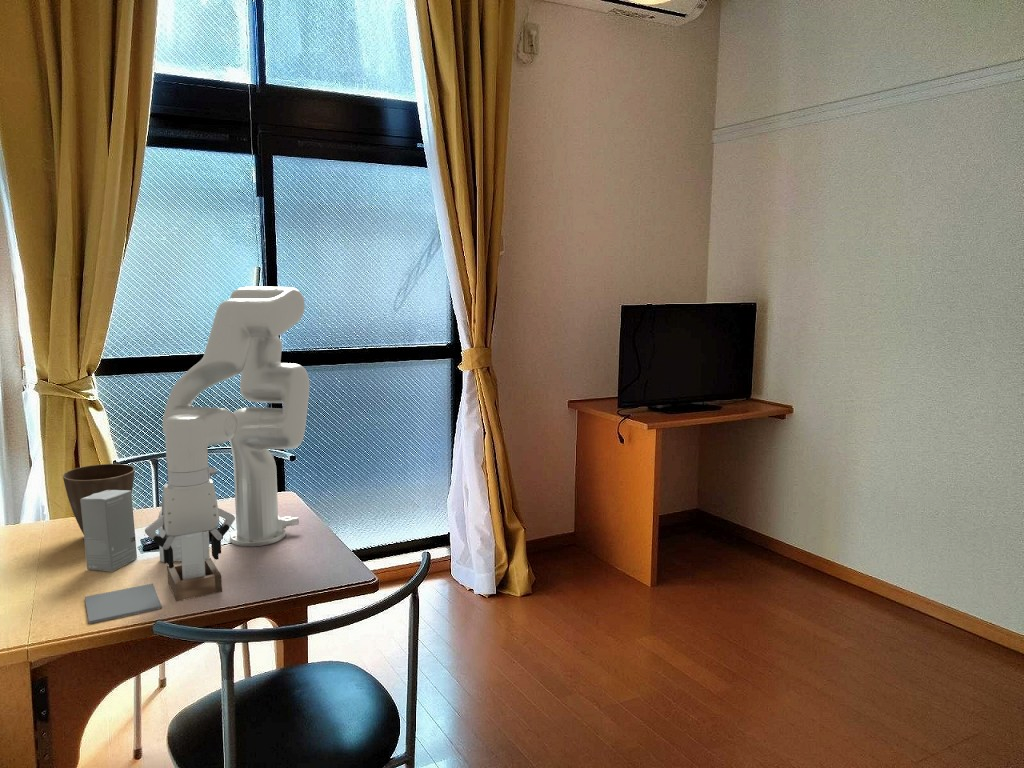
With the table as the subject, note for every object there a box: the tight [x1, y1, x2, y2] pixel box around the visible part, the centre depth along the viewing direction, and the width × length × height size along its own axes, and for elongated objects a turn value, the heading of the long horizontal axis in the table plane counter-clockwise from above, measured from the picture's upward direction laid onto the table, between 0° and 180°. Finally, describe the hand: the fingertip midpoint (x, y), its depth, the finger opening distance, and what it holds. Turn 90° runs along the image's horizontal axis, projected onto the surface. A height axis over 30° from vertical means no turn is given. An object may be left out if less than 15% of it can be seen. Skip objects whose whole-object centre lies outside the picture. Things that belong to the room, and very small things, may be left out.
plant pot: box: [62, 463, 136, 536], centre depth 176 cm, size 15×15×16 cm
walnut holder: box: [166, 557, 223, 602], centre depth 149 cm, size 8×10×4 cm
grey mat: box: [84, 583, 163, 625], centre depth 141 cm, size 12×12×1 cm
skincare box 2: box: [180, 532, 206, 580], centre depth 148 cm, size 6×4×12 cm
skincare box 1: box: [80, 490, 138, 573], centre depth 159 cm, size 8×7×16 cm
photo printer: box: [157, 508, 211, 563], centre depth 163 cm, size 10×4×12 cm, turn 103°
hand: (193, 561), depth 149 cm, fingers open, 7 cm apart
